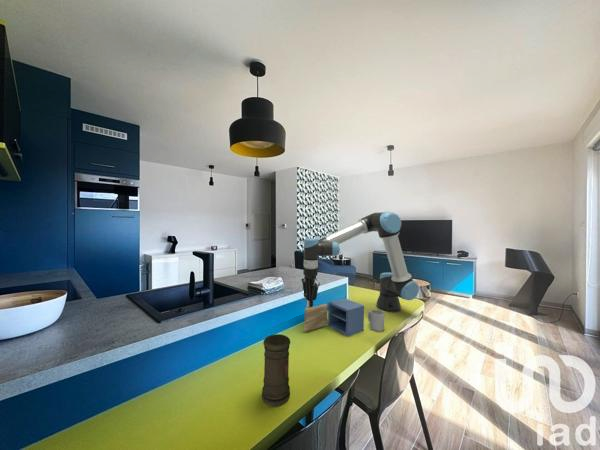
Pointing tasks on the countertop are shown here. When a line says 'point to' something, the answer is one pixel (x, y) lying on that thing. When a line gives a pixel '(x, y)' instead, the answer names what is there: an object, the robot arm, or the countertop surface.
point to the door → (315, 317)
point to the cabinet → (346, 316)
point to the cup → (376, 320)
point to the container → (276, 370)
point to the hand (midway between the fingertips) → (309, 312)
